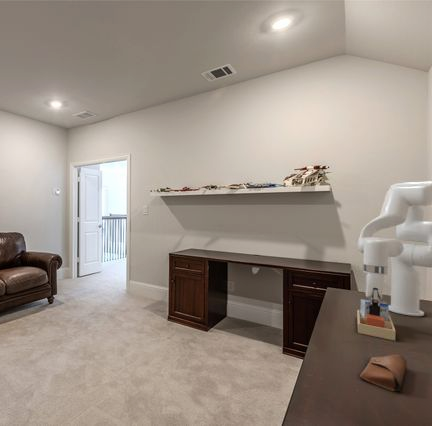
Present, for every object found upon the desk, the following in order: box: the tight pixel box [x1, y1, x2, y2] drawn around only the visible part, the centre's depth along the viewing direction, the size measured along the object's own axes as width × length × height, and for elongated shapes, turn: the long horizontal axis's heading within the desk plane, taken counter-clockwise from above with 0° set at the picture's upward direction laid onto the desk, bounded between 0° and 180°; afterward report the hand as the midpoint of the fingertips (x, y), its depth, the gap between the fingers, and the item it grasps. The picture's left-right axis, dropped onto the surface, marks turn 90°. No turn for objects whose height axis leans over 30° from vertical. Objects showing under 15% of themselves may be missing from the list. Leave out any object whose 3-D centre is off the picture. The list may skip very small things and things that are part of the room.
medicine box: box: [359, 298, 390, 322], centre depth 122 cm, size 8×4×9 cm, turn 67°
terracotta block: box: [366, 314, 385, 328], centre depth 115 cm, size 5×5×5 cm
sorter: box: [356, 309, 396, 342], centre depth 119 cm, size 20×10×4 cm, turn 141°
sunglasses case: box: [359, 354, 408, 392], centre depth 85 cm, size 18×7×7 cm
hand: (374, 312), depth 122 cm, fingers closed on medicine box, 5 cm apart
